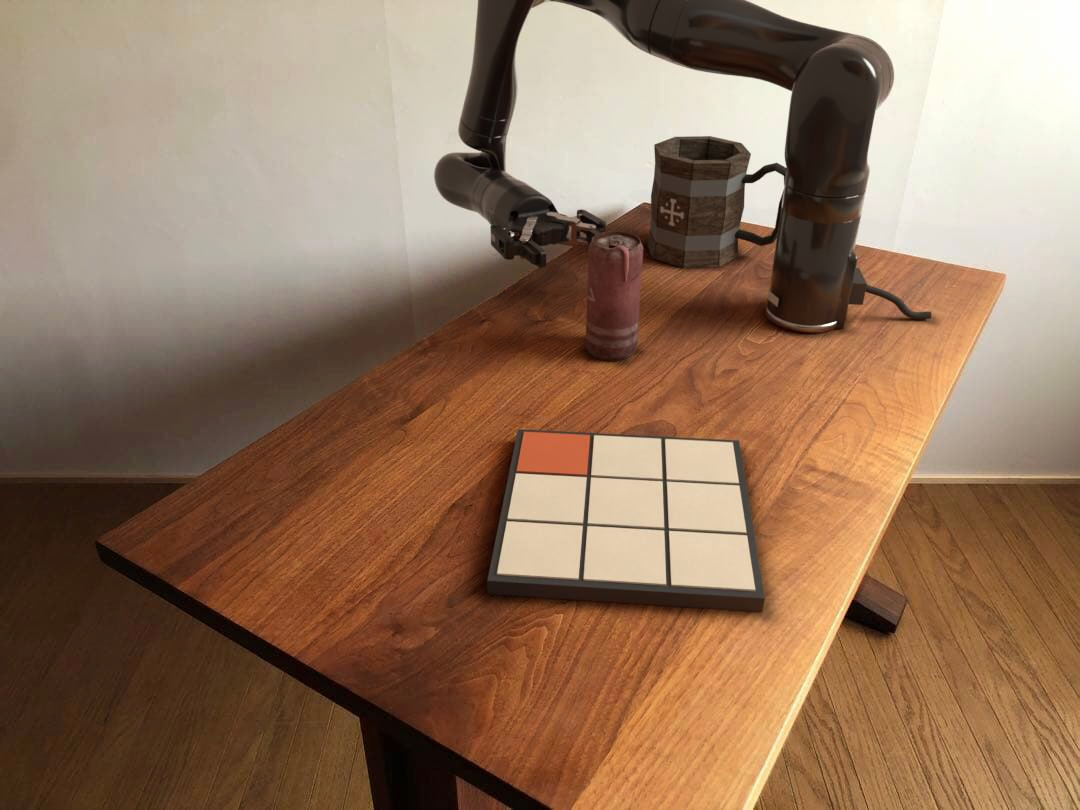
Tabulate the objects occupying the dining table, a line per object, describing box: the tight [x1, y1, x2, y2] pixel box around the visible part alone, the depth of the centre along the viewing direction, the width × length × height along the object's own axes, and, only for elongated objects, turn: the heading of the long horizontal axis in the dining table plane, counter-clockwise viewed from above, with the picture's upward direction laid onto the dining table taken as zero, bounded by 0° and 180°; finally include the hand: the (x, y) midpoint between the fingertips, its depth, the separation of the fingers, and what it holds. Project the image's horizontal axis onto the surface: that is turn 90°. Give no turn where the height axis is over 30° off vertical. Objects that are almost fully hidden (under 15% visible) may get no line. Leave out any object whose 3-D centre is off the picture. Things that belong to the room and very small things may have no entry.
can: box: [585, 230, 644, 362], centre depth 105 cm, size 6×6×14 cm
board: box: [486, 428, 766, 613], centre depth 82 cm, size 22×22×2 cm
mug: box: [646, 135, 787, 269], centre depth 130 cm, size 20×14×15 cm
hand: (575, 253), depth 111 cm, fingers open, 8 cm apart
